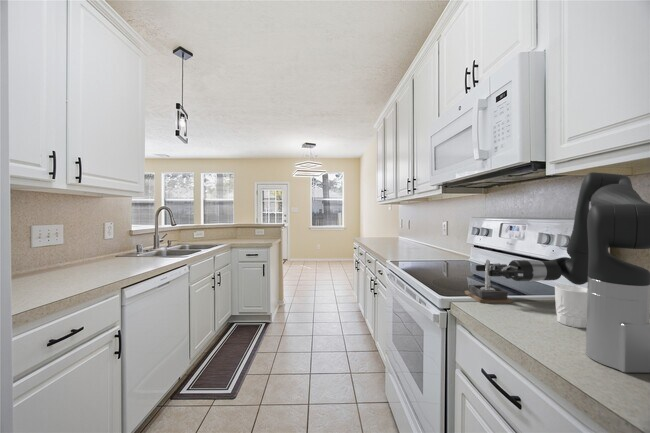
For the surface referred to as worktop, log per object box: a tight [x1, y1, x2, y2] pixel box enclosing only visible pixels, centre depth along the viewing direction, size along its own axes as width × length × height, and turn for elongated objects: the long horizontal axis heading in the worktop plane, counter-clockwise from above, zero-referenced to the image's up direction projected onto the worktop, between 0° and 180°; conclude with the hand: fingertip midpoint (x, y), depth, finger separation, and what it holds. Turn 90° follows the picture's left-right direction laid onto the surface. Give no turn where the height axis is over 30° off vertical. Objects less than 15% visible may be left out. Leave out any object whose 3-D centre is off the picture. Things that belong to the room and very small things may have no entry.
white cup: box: [554, 284, 588, 329], centre depth 80 cm, size 8×8×10 cm
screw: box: [480, 259, 495, 291], centre depth 103 cm, size 13×5×5 cm
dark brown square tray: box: [464, 284, 513, 304], centre depth 103 cm, size 11×11×4 cm
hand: (482, 270), depth 103 cm, fingers open, 8 cm apart
